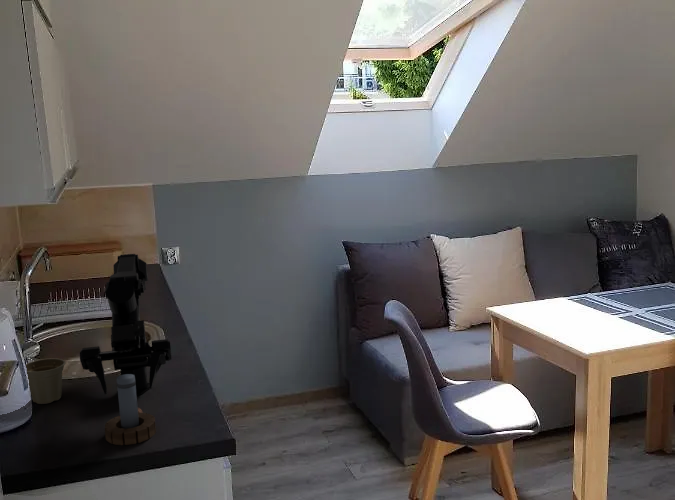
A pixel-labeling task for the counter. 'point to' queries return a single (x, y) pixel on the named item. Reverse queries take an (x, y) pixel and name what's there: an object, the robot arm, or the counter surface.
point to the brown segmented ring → (130, 430)
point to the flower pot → (45, 379)
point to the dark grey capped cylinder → (127, 401)
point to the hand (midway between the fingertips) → (128, 391)
